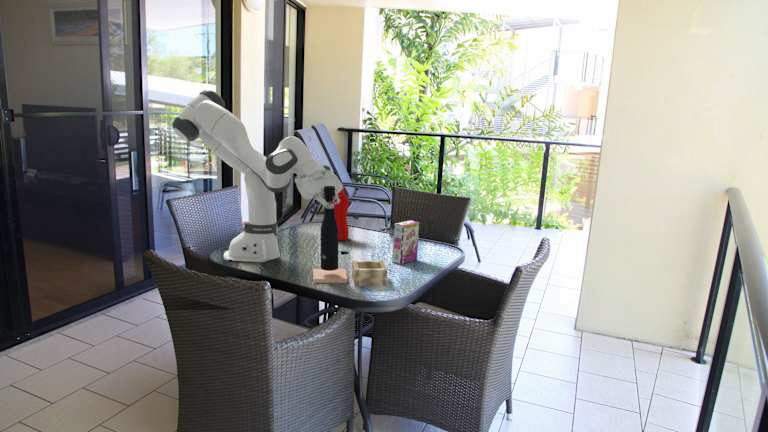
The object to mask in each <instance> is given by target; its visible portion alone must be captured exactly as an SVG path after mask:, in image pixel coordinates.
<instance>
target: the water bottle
mask: <svg viewBox="0 0 768 432" xmlns="http://www.w3.org/2000/svg"><path fill="white" fill-rule="evenodd" d="M345 189H346V188H345V186H343V189H342V190H341V191H340V192H339V193H337V194H338V198H339V199H340V202H339V203H338V204H335V203H334V202H333V203H334V208H335V218H336V221H337V225H338V242H340V241H341V242H342V241H347V240H348V238H349V233H350V232H349V227H348V226H349V224H348V220H347V215H348V211H349V207H350V198H349V197H348V195H347V194H346V193H345ZM333 200H334V199H333Z"/></svg>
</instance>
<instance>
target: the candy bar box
mask: <svg viewBox="0 0 768 432" xmlns="http://www.w3.org/2000/svg"><path fill="white" fill-rule="evenodd" d="M393 229H394V230H393V241H392V242H393V244H392V259H391V262H392V263H393V264H397V265H405V264H407V263H411V262H414V261H418V245H419V235H420V233H419V232H420V222H419V221H416V220H406V221H401V222H397V223H394V227H393Z"/></svg>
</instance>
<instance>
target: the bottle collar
mask: <svg viewBox="0 0 768 432" xmlns="http://www.w3.org/2000/svg"><path fill="white" fill-rule="evenodd" d="M351 261H352V262H351V279H352V282H353V285H354V287H387V286H388V268H387V266H386V264H385V262H384V261H383V260H351Z"/></svg>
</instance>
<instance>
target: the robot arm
mask: <svg viewBox="0 0 768 432" xmlns="http://www.w3.org/2000/svg"><path fill="white" fill-rule="evenodd" d="M171 126H172V127H171V128H172V129H173V131H174V133H175V134H176V136H178V138H180V139H181V140H184V141H186V142H193V141H194V142H195V141H196V140H197V139H200V141H201V142H202V143H203V144H204V145H205V146H206V147H207V148H208V149H209V151H211V152H212V153H213V154H214V155H216V156H217V157H218V158H219V159H221V160H222V161H223V162H224V163H225V164H227V165H228V166H229V167H231V168H233V169H234V170H236V171H238V172H240V173H242V174H243V175H244V177H243V180H244V183H245V190H246V197H247V204H248V206H247V207H248V209H247V210H248V211H247V212H248V213H247V214H248V220H244V221H243V223H242V225H243V226H242V228H243V229H242V230H243V231H242V232H241V233H239V234H238V235H237V236H235V237H234V238H233V239H231V241H230V244H229V247H228V250H226V251H225V252H224V253H223V257H224V258H223V259H224V260H225V261H229V260H232V262H233V261H234V262H252V263H253V262H254V263H265V262H267V261H272V260H275V259H278V258H280V257H281V253H280V251H279V250H280V249H279V246H278V237H277V236H278V232H279V230H278V229H279V228H278V227H279V226H278V222H277V202H276V196H275V193H283V192H285V191H287V190H288V189H289V188H290V186H291V183H292V174H295V177H294V183H295V184H296V188H297V190H298V192H299V193H300V195H301V197H302V198H303V199H305V200H307V201H308V200H311V199H315V200H316V201H317V202H318V203H320V204H321V205H322V206H323V207H324V208H325V206H328V205H329V202H328V201H327V200H326V198H324V197H325V196H324V187H325V186H334V187H335V196H333V199H334V200H333V202H334V203H335V204H338V203H339V202H340V199H339V198H338V194H337V193H339V192H340V191H341V190H342V189H343V187H344V185H343V183H342V182H341V180H340V179H339V178H338V176H337V175H336V174H335V173H334V172H332V171H333V169H332V167H331V166H329V165H326V164H322V163H320V162H318V161H317V159H315V158H314V156H312V153H311V151H310V149H309V148H308V147H307V146H306V144H305V143H304V142H303V141H302V140H301V139H300V138H299V137H298V136H297V137H296V136H294V135H292V136H288V137H284V138H283V139H282V140H280V142H279V143H278V146H277V148H276V149H275V150H274V151H273V152H271V153H270V154H269V155H267V156H266V155H263V154H262V153H261V152H260V151H258V150H257V149H254V147H253V146H252V144H251V141H250V138H249V135H248V133H247V129H246V127H245V124H244V123H243V122H242V121H241V120H240V119H239V117H237V116H236V115H235V114H234V113H232V112H231V111H229V110H228V109H226V106H225V100H224V99H223V98H222V97H221V95H220V94H219V93H218V92H216V91H215V90H213V89H210V88H206V89H203V90H202V91H200V92H199V94H198V95H196V96H195V97H193V99H191V101H189V102H188V103H187V105H186V106H184V108H183V110H182V111H181V112H180V113H179V114H178V116H176V117H175V118H174V120H173V121H172V124H171Z"/></svg>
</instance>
